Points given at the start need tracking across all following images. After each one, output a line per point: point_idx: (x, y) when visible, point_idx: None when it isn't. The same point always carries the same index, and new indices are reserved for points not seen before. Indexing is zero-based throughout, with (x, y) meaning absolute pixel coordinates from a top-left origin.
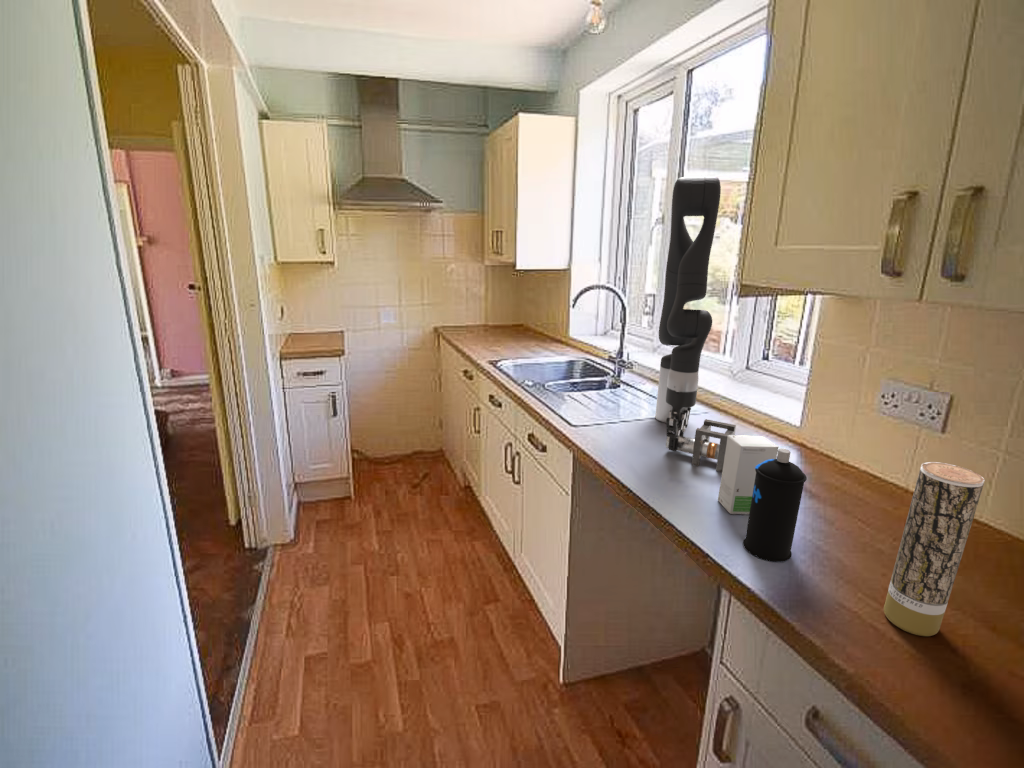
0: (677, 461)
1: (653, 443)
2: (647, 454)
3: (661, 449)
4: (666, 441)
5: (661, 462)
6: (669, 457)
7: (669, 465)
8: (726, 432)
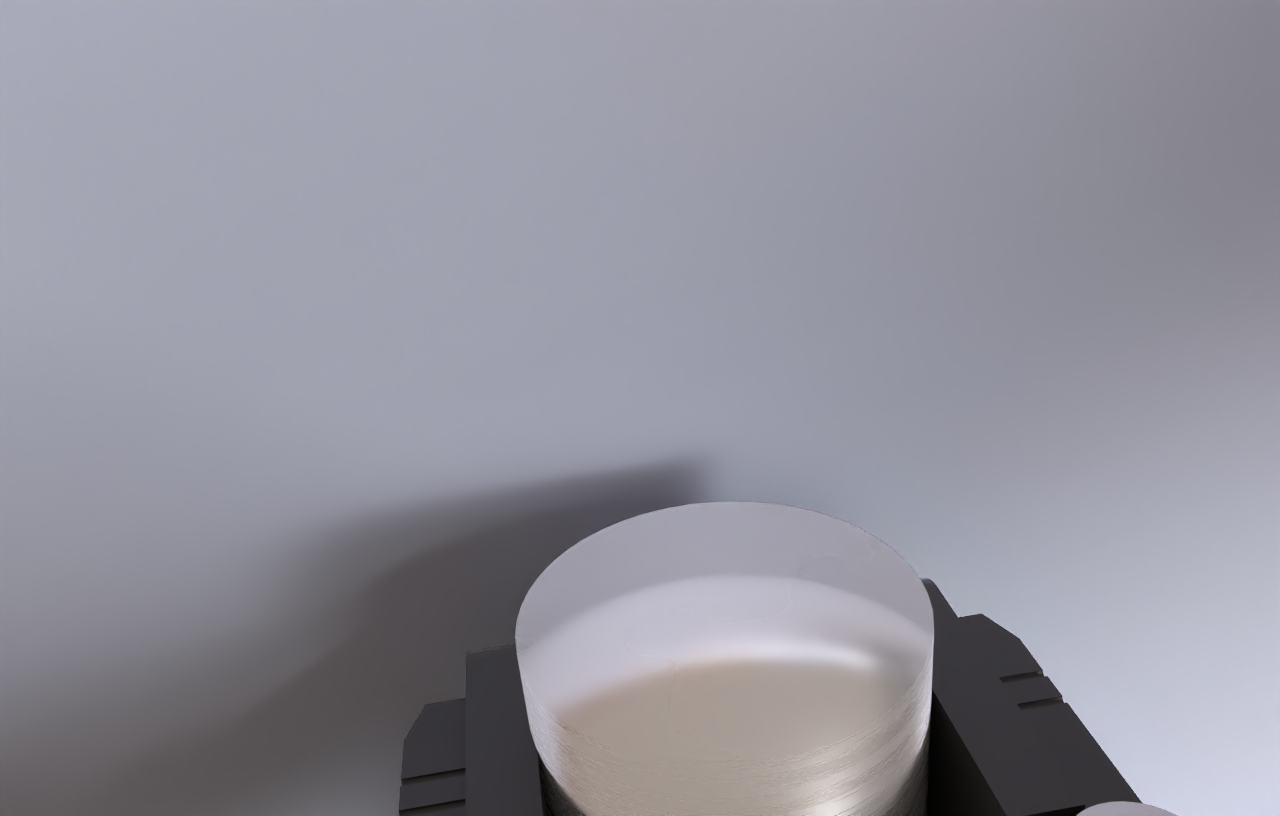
0: (345, 778)
1: (929, 4)
2: (153, 219)
3: (688, 323)
4: (521, 677)
5: (33, 626)
6: (403, 616)
7: (47, 773)
8: None
